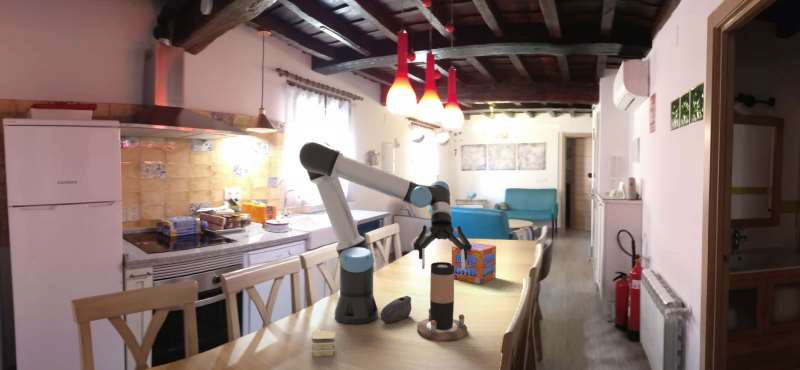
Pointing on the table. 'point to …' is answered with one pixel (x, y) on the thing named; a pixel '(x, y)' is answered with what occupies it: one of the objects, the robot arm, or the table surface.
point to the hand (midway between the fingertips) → (443, 267)
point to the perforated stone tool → (396, 310)
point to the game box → (475, 263)
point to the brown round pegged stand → (430, 332)
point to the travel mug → (442, 295)
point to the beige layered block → (323, 342)
